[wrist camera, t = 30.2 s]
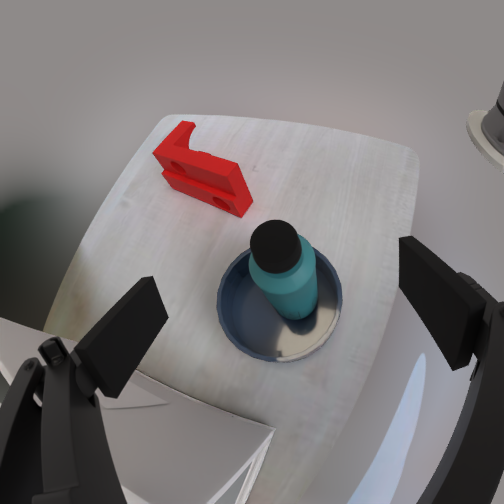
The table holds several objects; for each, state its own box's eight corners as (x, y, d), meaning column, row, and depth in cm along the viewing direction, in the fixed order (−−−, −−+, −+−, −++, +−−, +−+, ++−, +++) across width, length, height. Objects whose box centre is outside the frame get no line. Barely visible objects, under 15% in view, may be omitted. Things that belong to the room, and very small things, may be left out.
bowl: (347, 266, 40) (351, 249, 35) (324, 373, 34) (325, 374, 29) (247, 249, 45) (237, 231, 40) (217, 346, 40) (201, 341, 34)
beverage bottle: (328, 297, 38) (334, 230, 20) (297, 333, 37) (277, 297, 19) (293, 271, 41) (271, 189, 23) (264, 304, 40) (216, 246, 22)
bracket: (148, 156, 46) (182, 120, 48) (172, 188, 55) (200, 153, 57) (222, 182, 39) (259, 136, 41) (241, 218, 48) (270, 176, 50)
